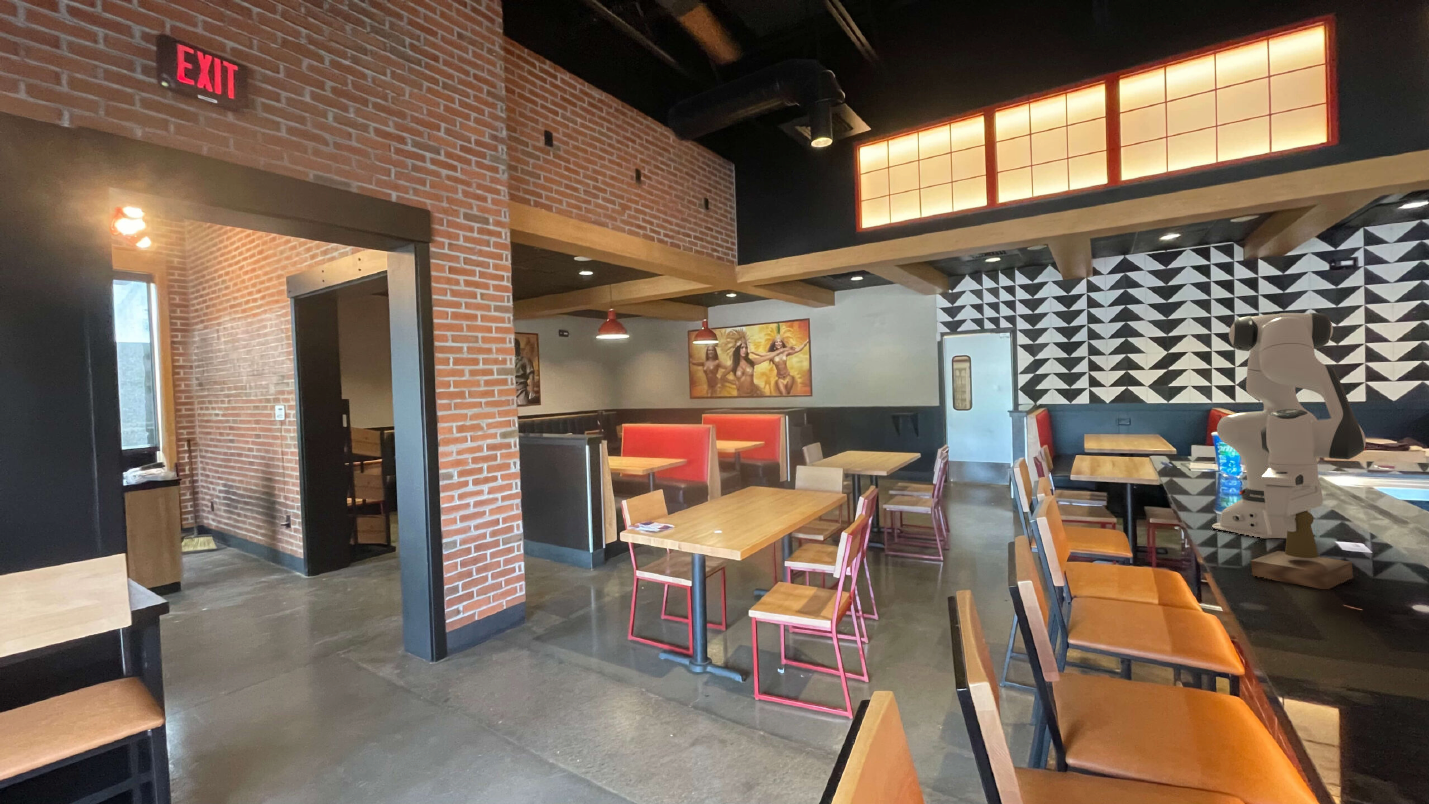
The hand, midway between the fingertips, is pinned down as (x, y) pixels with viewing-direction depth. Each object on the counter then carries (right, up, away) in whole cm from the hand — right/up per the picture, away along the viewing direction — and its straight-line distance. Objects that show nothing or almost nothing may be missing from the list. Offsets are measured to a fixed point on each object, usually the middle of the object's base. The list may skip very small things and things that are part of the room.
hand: (1297, 529), depth 147 cm
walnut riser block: (+1, -12, 0) cm, 12 cm away
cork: (+1, -7, 0) cm, 7 cm away
